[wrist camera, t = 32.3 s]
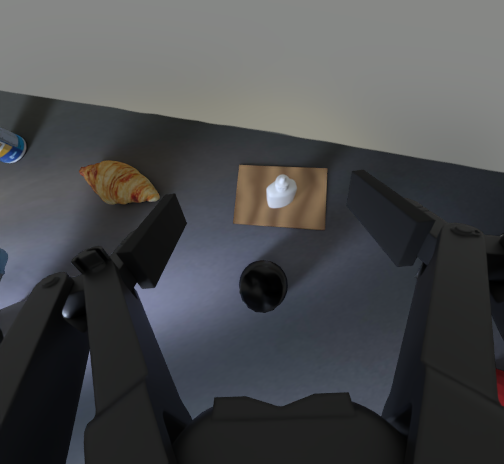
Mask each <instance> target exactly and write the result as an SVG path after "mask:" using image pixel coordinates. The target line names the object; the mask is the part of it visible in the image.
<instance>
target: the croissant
mask: <svg viewBox="0 0 504 464" xmlns="http://www.w3.org/2000/svg"><path fill="white" fill-rule="evenodd" d="M79 172H80V174H81V175H82V176H84V178H85V179H86V181H87V182H88V183H89V185H90V186H91V187H92V189H93V190H94V192H95V193H96V194H98V195H99V196H100V198H101V199H102V200H103V201H104V202H105V203H107V204H117V203H119V204H126V203H131V202H136V203H140V202H143V201H149V202H153V201H157V200H159V198H160V197H159V193H158V192H157V191H156V189H155V188H154V186H153V185H152V184H151V182H150V181H149V180H148V179H147V178H146V177H145V176H143V175H142V174H140V173H139V171H138V170H137V169H135V168H133V167H132V166H129V165H128V164H125V163H121V162H117V161H110V160H109V161H103V162H101V163H96V164H95V165H88V166H87V167H81V169H80V171H79Z"/></svg>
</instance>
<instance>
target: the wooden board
mask: <svg viewBox="0 0 504 464" xmlns="http://www.w3.org/2000/svg"><path fill="white" fill-rule="evenodd" d="M283 174H284V175H286V176H288V177H289V179H293V180H294V181H295V183H296V186H297V190H296V193H295V196H294V199H293V201H292V202H291V203H290V204H288V205H287V206H284V207H281V208H270V207H269V206H268V202H267V193H266V189H267V187H268V186H269V185H270V184H271V183H273V182H275V181H276V178H277V177H278V176H279V175H283ZM326 188H327V168H302V167H276V166H250V165H239V174H238V183H237V192H236V202H235V211H234V220H233V224H246V225H259V226H273V227H287V228H301V229H314V230H325V214H326Z"/></svg>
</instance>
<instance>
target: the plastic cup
mask: <svg viewBox="0 0 504 464" xmlns="http://www.w3.org/2000/svg"><path fill="white" fill-rule="evenodd" d="M496 379H497V391H498V398H499V402H500V403H501V405H502V406H504V371H502V370H499V369H496Z"/></svg>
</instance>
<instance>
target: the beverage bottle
mask: <svg viewBox="0 0 504 464" xmlns="http://www.w3.org/2000/svg"><path fill="white" fill-rule="evenodd" d="M25 151H26V142H25V140H24V139H23V138H22V137H20V136H19V135H17V134H14V133H12V132H10V131H7V130H5V129H3V128H1V127H0V161H2V162H5V163H14V162H16V161H18V160H20V159H21V158H22V157H23V155H24V154H25Z"/></svg>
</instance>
